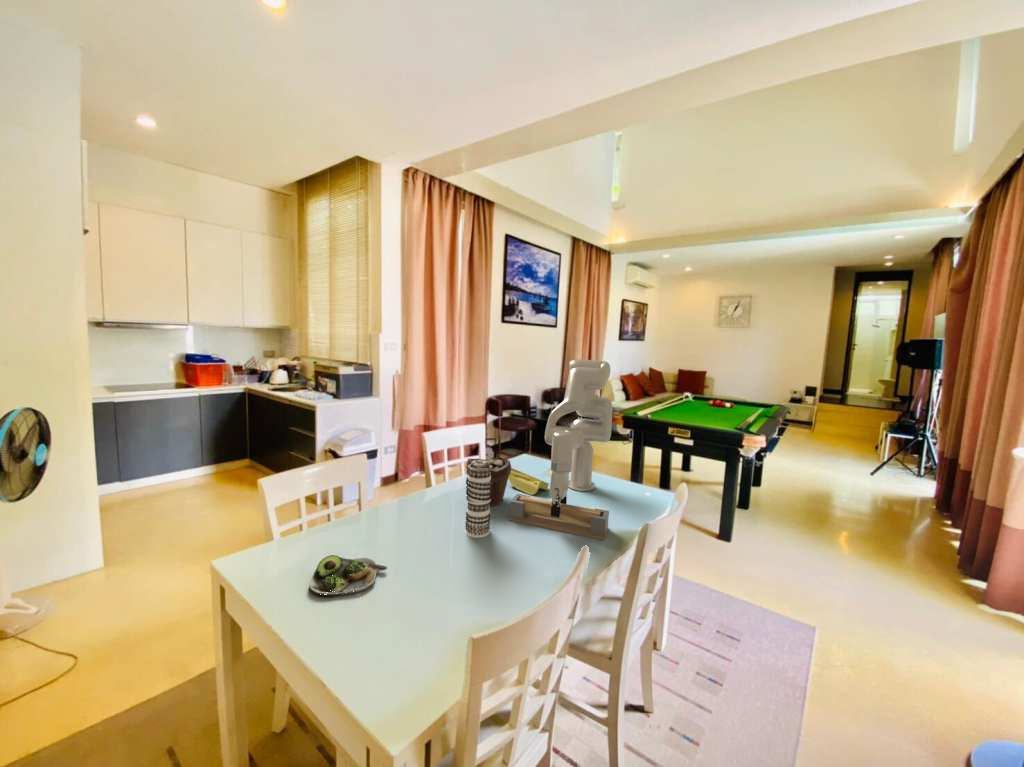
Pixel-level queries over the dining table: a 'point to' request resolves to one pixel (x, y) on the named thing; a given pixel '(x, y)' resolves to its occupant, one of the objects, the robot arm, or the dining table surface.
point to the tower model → (478, 499)
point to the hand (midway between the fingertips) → (558, 511)
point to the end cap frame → (560, 521)
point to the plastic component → (526, 482)
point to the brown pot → (496, 477)
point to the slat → (566, 511)
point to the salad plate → (343, 575)
